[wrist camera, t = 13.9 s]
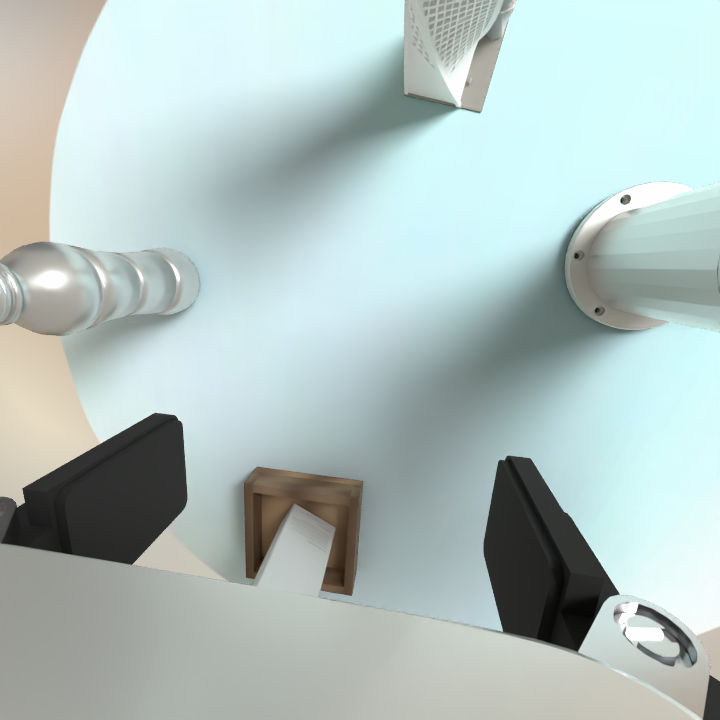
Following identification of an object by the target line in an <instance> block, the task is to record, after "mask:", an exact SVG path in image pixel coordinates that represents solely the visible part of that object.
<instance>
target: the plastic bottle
mask: <svg viewBox="0 0 720 720" xmlns="http://www.w3.org/2000/svg"><path fill="white" fill-rule="evenodd" d="M199 289H200V279H199V274H198V271H197V269H196V267H195V265H194V264H193V262H192V261H191V260H190V259H189V258H188V257H187V256H185V255H184V254H182V253H180V252H177V251H174V250H171V249H167V248H155V249H149V250H144V251H141V252H130V253H111V252H102V251H94V250H89V249H84V248H80V247H75V246H70V245H65V244H61V243H53V242H36V243H32V244H28V245H24V246H21V247H19V248H17V249H15V250H13V251H12V252H10V253H9V254H8V255H6V256H5V257H3V258H2V259H1V260H0V325H8V324H12V323H16V324H17V325H19V326H21V327H23V328H26V329H29V330H31V331H33V332H36V333H39V334H45V335H56V336H65V335H70V334H73V333H77V332H80V331H83V330H85V329H88V328H91V327H93V326H96V325H99V324H101V323H104V322H106V321H110V320H114V319H118V318H122V317H126V316H130V315H138V314H160V315H165V314H175V313H178V312H180V311H182V310H184V309H186V308H188V307H189V306H191V305H192V304H193V303H194V301H195V300H196V298H197V296H198V293H199Z"/></svg>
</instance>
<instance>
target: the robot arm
mask: <svg viewBox="0 0 720 720" xmlns="http://www.w3.org/2000/svg"><path fill="white" fill-rule="evenodd" d="M620 198H621V199H622V200H623V202H622V204H621V203H620ZM575 253H577V254H578V257H577V258H576V259H575V258H574V254H575ZM565 278H566V285H567V287H568V290H569V293H570V295H571V297H572V299H573V300H574V302H575V303H576V305H577V306H578V307H579V308H580V309H581V310H582V311H583V312H584V313H585V314H586V315H587V316H589V317H590V318H592V319H593V320H595V321H597V322H599V323H602V324H604V325H607V326H610V327H614V328H618V329H625V330H642V329H650V328H654V327H657V326H661V325H664V324H667V323H669V322H673V323H678V324H682V325H687V326H692V327H697V328H701V329H706V330H711V331H715V332H720V182H718V183H714V184H710V185H707V186H703V187H700V188H696V189H694V188H691V187H688V186H686V185H683V184H680V183H673V182H665V181H664V182H649V183H645V184H640V185H636V186H633V187H630V188H627V189H625V190H622V191H620V192H618V193H616V194H614V195H612V196H610V197H608V198H606V199H605V200H604V201H603V202H601V203H600V204H599V205H597V206H596V207H595V208H593V210H592V211H591V212H590V213H589V214H588V215H587V216H586V217H585V218H584V219H583V220H582V222H581V223H580V225H579V226H578V228H577V229H576V231H575V232H574V234H573V237H572V239H571V241H570V243H569V246H568V250H567V254H566V258H565ZM596 308H597V309H598V310H597V312H595V309H596ZM23 494H24V499H25V503H24V504H22V505H21V506H19V507H18V508H17V505H16V502H15V501H14V500H13V499H11V498H7V497H0V720H720V681H718V680H717V679H715V678H713V677H712V676H711V675H710V669H711V666H710V659H709V655H708V653H707V651H706V650H705V648H704V646H703V644H702V643H701V642H700V640H699V639H698V638H697V637H696V636H695V634H694V633H693V632H692V631H691V630H690V629H689V628H688V627H687V626H686V625H684V624H683V623H682V622H681V621H680V620H679V619H677V618H676V617H675V616H673V615H672V614H670V613H669V612H667V611H666V610H664V609H663V608H661V607H659V606H657V605H655V604H653V603H651V602H649V601H646V600H644V599H640V598H637V597H634V596H628V595H620V594H619V592H618V591H617V589H616V588H615V586H614V584H613V583H612V581H611V580H610V578H609V577H608V575H607V573H606V572H605V570H604V569H603V567H602V566H601V564H600V562H599V561H598V559H597V558H596V556H595V555H594V553H593V551H592V550H591V548H590V547H589V545H588V544H587V542H586V540H585V539H584V537H583V536H582V534H581V533H580V531H579V529H578V528H577V526H576V525H575V523H574V522H573V520H572V518H571V517H570V516H569V515H568V514H567V513H565V512H564V511H563V510H562V508H561V507H560V505H559V503H558V502H557V500H556V499H555V497H554V495H553V494H552V492H551V491H550V489H549V487H548V486H547V484H546V483H545V481H544V479H543V478H542V476H541V475H540V473H539V471H538V470H537V468H536V466H535V465H534V463H533V462H532V460H531V459H530V458H523V457H515V456H507V457H506V459H505V461H504V460H500V461H499V462H498V466H497V472H496V477H495V483H494V488H493V494H492V499H491V505H490V510H489V516H488V522H487V527H486V533H485V538H484V557H485V561H486V565H487V569H488V573H489V577H490V581H491V585H492V589H493V593H494V597H495V601H496V605H497V609H498V613H499V617H500V621H501V625H502V629H503V632H501V631H497V630H492V629H487V628H483V627H478V626H473V625H469V624H464V623H458V622H453V621H447V620H442V619H436V618H431V617H425V616H419V615H414V614H408V613H403V612H397V611H392V610H386V609H381V608H375V607H370V606H364V605H358V604H353V603H347V602H342V601H336V600H331V599H325V598H319V597H313V596H308V595H302V594H296V593H290V592H285V591H279V590H273V589H267V588H262V587H256V586H250V585H245V584H239V583H233V582H227V581H221V580H216V579H210V578H204V577H199V576H193V575H187V574H181V573H175V572H170V571H164V570H158V569H152V568H147V567H141V566H135V565H132V564H133V563H134V562H135V561H136V560H137V559H138V558H139V557H140V556H141V555H142V553H143V552H144V551H145V550H146V549H147V548H148V547H149V546H150V545H151V544H152V543H153V542H154V541H155V539H156V538H157V537H158V536H159V535H160V534H161V533H162V532H163V531H164V530H165V529H166V528H167V527H168V526H169V525H170V524H171V523H172V521H173V520H174V519H175V518H176V517H177V516H178V515H179V514H180V513H181V512H182V511H183V509H184V508H185V506H186V503H187V484H186V469H185V454H184V440H183V426H182V423H181V421H178V418H177V417H176V416H175V415H168V414H160V413H155V414H152V415H150V416H149V417H147V418H145V419H143V420H142V421H140V422H138V423H136V424H135V425H133V426H131V427H129V428H128V429H126V430H124V431H122V432H121V433H119V434H117V435H115V436H114V437H112V438H110V439H108V440H106V441H105V442H103V443H101V444H99V445H98V446H96V447H94V448H92V449H91V450H89V451H87V452H85V453H84V454H82V455H80V456H79V457H77V458H75V459H73V460H71V461H70V462H68V463H66V464H64V465H63V466H61V467H59V468H57V469H56V470H54V471H52V472H50V473H49V474H47V475H45V476H43V477H42V478H40V479H38V480H36V481H35V482H33V483H31V484H30V485H28V486H26V487H24V488H23Z"/></svg>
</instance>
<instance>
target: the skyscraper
mask: <svg viewBox="0 0 720 720" xmlns="http://www.w3.org/2000/svg"><path fill="white" fill-rule="evenodd" d="M515 4H516V0H405V12H404V95H406V96H410V97H415V98H419V99H424V100H428V101H432V102H437V103H441V104H446V105H450V106H455V107H458V108H463V109H468V110H472V111H477V112H481V111H482V108H483V105H484V101H485V98H486V95H487V91H488V88H489V85H490V81H491V78H492V74H493V71H494V68H495V64H496V61H497V58H498V54H499V51H500V47H501V44H502V41H503V37H504V34H505V31H506V27H507V24H508V20H509V18H510V16H511V14H512V12H513V10H514V7H515Z"/></svg>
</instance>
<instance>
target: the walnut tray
mask: <svg viewBox="0 0 720 720" xmlns="http://www.w3.org/2000/svg"><path fill="white" fill-rule="evenodd" d="M362 488H363V481H358V480H350V479H343V478H335V477H328V476H321V475H313V474H306V473H298V472H291V471H283V470H276V469H269V468H261V467H256V469H255V470H254V471H253V473H252V474H251V475H250V476H249V478H248V479H247V480H246V482H245V483H244V502H245V548H246V578H252V579H255V577H256V575H257V573H258V571H259V569H260V567H261V565H262V562H263V560H264V558H265V556H266V554H267V552H268V550H269V548H270V546H271V543H272V541H273V539H274V537H275V535H276V533H277V531H278V528H279V526H280V524H281V522H282V521H283V519H284V518H285V516H286V515H287V513H288V511H289V510H290V508H291V507H292V505H293V504H294V503H295V504H297V505H298V506H300V507H302V508H303V509H305V510H307V511H308V512H310V513H312V514H314V515H315V516H317V517H319V518H320V519H322V520H324V521H325V522H327V523H329V524H331V525H332V526H334V527H335V528H336V530H335V534H334V538H333V542H332V546H331V550H330V554H329V558H328V562H327V566H326V570H325V574H324V578H323V582H322V586H321V591H327V592H333V593H339V594H345V595H350V596H352V593H353V587H354V582H355V576H356V569H357V555H358V542H359V528H360V515H361V501H362Z"/></svg>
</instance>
